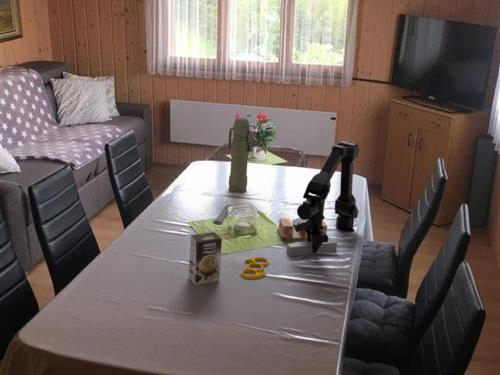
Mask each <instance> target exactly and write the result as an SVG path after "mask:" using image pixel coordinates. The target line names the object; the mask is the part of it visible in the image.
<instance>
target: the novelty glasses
mask: <svg viewBox="0 0 500 375" xmlns="http://www.w3.org/2000/svg"><path fill="white" fill-rule="evenodd" d="M257 261H263V262H262V263H261V262H257ZM246 263H247V265H246V268H245V269H243V270H241V272H240V275H241V278H243V279H248V280H256V279H261V278H263V277H265V276H266V275H267V273H266V272H263V271H264V267H267V266H268V265H269V264H270V262H269V260H268V259H267V258H266V257H262V256H258V257H257V256H256V257H250V258H248V259H246V260H245V261H244V264H246ZM252 267H258V268H252ZM245 273H253V275H252V274H251V275H250V274H249V275H248V274H245Z"/></svg>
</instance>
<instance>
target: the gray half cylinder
mask: <svg viewBox="0 0 500 375" xmlns="http://www.w3.org/2000/svg"><path fill="white" fill-rule="evenodd" d="M229 206H232V205H230V204H227V205H225V206H224V207H223V209H221V212H219V214H218V215H217V217H216V218H215V219H214V221H212V222H213V223H215V224H219V223H220V224H221V223H223V224H224V222H225V221H224V219H225V218H226V217H227V215H228V207H229ZM228 216H229V215H228ZM227 218H228V217H227ZM227 218H226V219H227ZM226 219H225V220H226ZM223 221H224V222H223ZM221 225H222V224H221Z"/></svg>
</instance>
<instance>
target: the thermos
mask: <svg viewBox="0 0 500 375" xmlns="http://www.w3.org/2000/svg"><path fill="white" fill-rule="evenodd" d="M250 127H251V126H250V122H249V120H248V119H247V118H245V117H238V118H236V119H234V123H233V126H232V127H230V129H228V145H227V146H228V149H229V150H230V156H231V160H230V174H229V177H228V191H230V192H231V193H237V194H239V193H241V194H242V193H245V192H247V186H248V160H249V159H248V158H249V156H250V152H252V151H253V143H254V132H253V130H250ZM232 135H233V136H232Z"/></svg>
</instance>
